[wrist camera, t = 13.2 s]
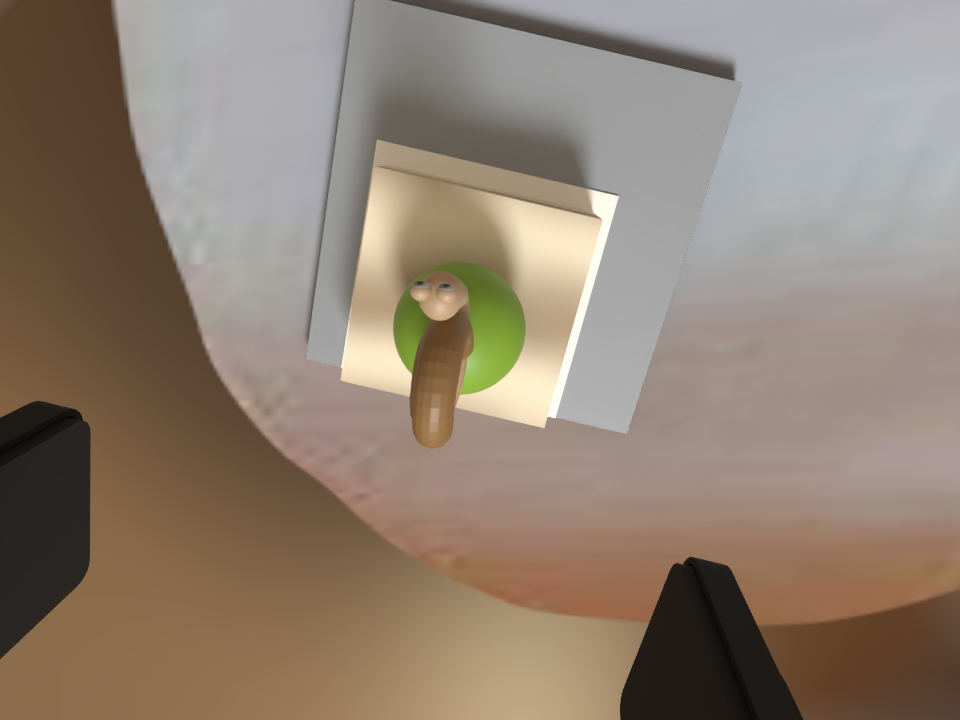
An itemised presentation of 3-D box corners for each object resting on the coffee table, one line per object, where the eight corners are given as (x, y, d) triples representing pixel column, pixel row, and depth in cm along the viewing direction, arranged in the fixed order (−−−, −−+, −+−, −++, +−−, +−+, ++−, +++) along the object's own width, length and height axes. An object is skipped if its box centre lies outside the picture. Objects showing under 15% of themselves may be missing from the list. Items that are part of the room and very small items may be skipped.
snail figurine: (534, 236, 27) (541, 294, 15) (518, 375, 29) (514, 518, 17) (410, 224, 27) (325, 272, 15) (403, 363, 29) (323, 496, 17)
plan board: (361, -3, 29) (355, -9, 28) (735, 85, 29) (743, 82, 28) (312, 353, 34) (305, 359, 33) (623, 426, 34) (627, 434, 33)
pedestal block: (393, 165, 30) (374, 166, 26) (593, 212, 30) (602, 219, 26) (361, 355, 33) (340, 380, 29) (542, 397, 33) (544, 427, 29)
